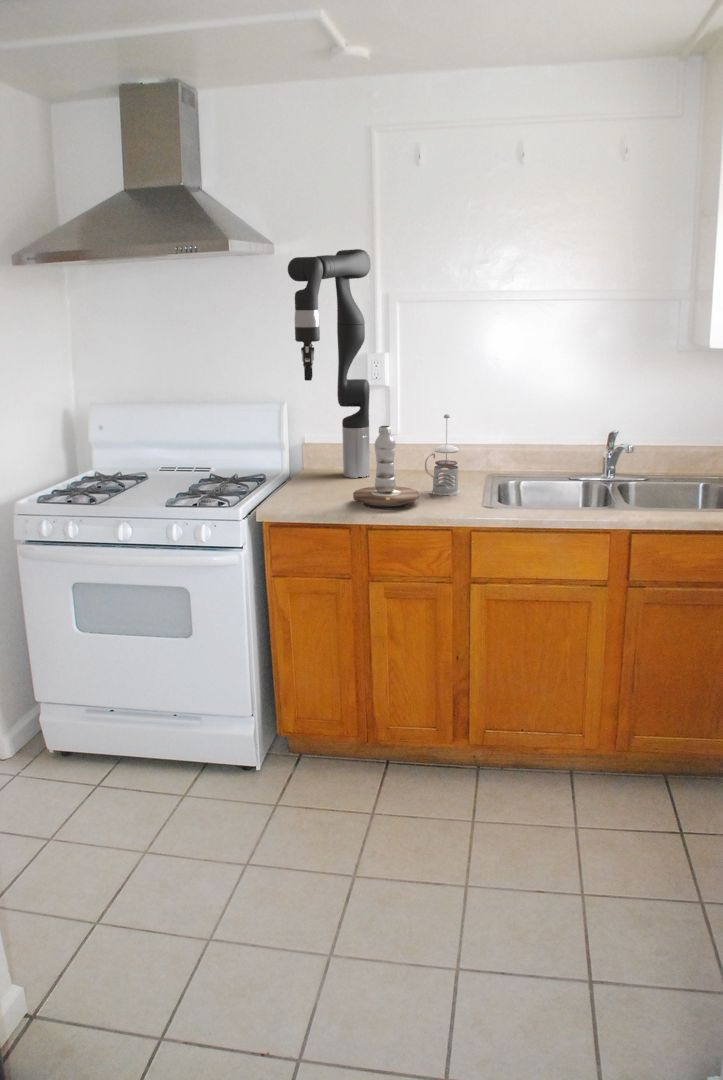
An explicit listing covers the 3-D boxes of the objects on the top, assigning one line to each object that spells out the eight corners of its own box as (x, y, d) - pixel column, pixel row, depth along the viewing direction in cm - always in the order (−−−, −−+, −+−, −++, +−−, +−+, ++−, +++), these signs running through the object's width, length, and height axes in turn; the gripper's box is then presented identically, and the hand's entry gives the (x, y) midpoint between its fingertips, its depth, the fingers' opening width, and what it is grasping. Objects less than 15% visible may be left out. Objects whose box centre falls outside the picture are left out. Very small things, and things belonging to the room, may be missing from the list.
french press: (459, 496, 278) (461, 416, 271) (422, 494, 280) (423, 415, 273) (462, 489, 287) (464, 412, 280) (426, 488, 289) (427, 411, 282)
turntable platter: (352, 490, 278) (352, 486, 278) (416, 489, 279) (416, 484, 279) (354, 505, 259) (353, 500, 259) (422, 504, 260) (422, 499, 259)
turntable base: (362, 498, 276) (362, 492, 276) (407, 497, 277) (407, 492, 276) (363, 509, 263) (363, 503, 262) (411, 508, 263) (411, 502, 263)
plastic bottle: (391, 488, 273) (390, 424, 267) (399, 493, 267) (399, 427, 261) (371, 490, 271) (370, 425, 265) (379, 495, 265) (378, 429, 259)
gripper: (319, 326, 264) (320, 381, 269) (319, 324, 278) (321, 376, 282) (293, 326, 264) (295, 381, 269) (295, 324, 278) (297, 377, 282)
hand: (308, 379), depth 275 cm, fingers open, 8 cm apart
